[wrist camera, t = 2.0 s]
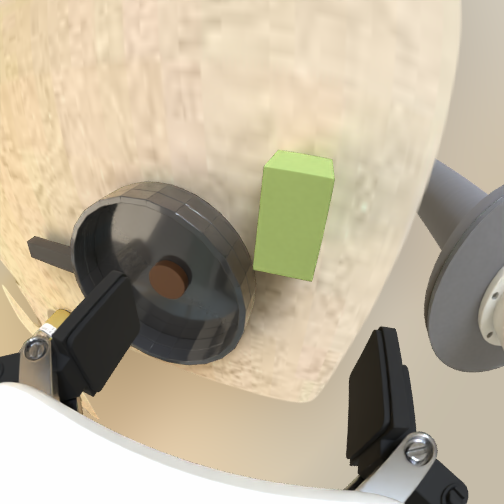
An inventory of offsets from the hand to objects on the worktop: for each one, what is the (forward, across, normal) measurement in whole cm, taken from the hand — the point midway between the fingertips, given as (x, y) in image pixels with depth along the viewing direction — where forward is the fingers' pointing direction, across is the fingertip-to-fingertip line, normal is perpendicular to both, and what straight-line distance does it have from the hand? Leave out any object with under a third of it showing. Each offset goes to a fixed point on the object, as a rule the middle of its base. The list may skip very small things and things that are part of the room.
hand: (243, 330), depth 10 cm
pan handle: (+13, +26, +10) cm, 31 cm away
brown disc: (+14, +10, +10) cm, 20 cm away
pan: (+14, +11, +10) cm, 20 cm away
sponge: (+14, -1, 0) cm, 14 cm away
